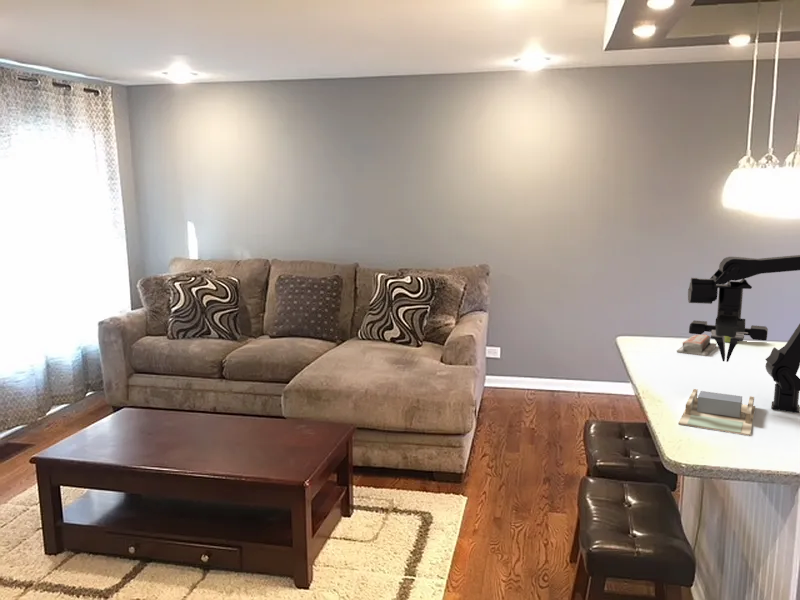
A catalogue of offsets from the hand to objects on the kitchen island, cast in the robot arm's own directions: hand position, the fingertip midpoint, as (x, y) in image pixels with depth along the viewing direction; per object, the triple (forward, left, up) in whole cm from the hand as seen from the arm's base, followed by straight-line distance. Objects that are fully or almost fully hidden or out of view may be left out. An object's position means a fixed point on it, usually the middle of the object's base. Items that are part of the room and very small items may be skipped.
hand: (725, 361), depth 185 cm
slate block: (+9, 0, -12) cm, 15 cm away
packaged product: (-64, -14, -13) cm, 67 cm away
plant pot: (-84, -5, -12) cm, 85 cm away
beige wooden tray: (+11, 0, -12) cm, 16 cm away
